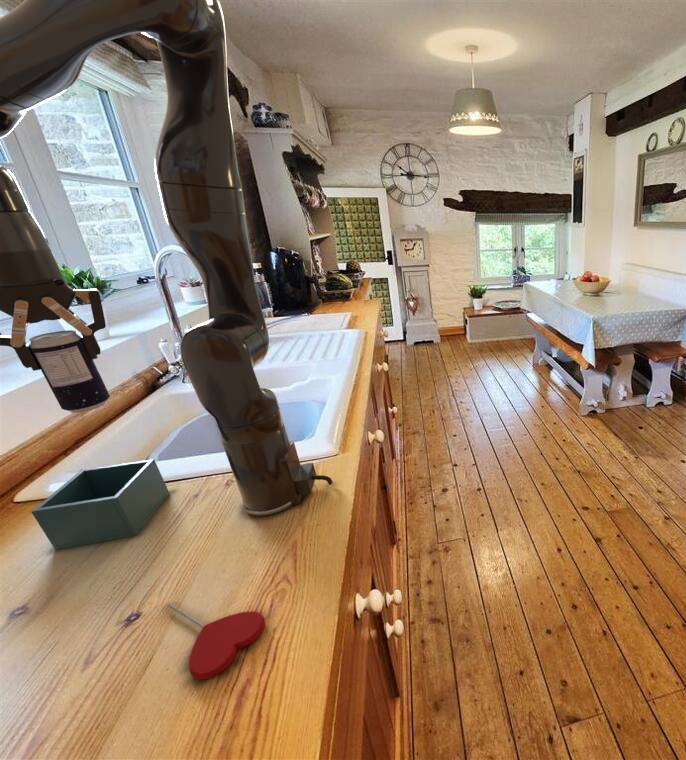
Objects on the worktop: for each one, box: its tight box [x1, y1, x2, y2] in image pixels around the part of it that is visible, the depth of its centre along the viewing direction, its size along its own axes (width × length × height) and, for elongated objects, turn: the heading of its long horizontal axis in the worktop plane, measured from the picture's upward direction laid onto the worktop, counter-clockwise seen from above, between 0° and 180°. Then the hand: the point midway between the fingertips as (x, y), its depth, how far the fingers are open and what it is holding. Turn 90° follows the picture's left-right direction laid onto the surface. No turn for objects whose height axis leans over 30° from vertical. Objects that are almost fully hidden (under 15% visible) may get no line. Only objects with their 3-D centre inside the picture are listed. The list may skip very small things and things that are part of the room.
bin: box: [30, 458, 170, 551], centre depth 69 cm, size 11×11×8 cm
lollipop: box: [166, 602, 266, 680], centre depth 51 cm, size 8×1×15 cm
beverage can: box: [28, 329, 111, 414], centre depth 63 cm, size 6×6×12 cm
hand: (67, 362), depth 63 cm, fingers closed on beverage can, 5 cm apart
